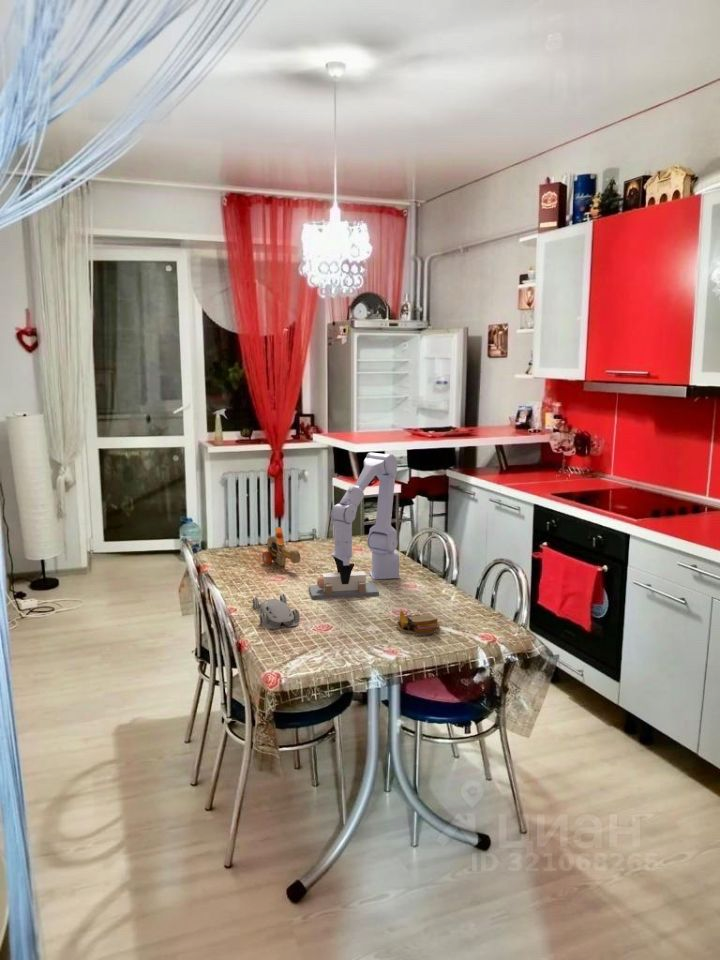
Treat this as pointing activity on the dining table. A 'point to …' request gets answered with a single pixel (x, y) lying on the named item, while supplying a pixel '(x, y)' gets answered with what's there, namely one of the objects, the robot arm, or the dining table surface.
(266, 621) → the car model
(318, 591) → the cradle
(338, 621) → the dining table surface
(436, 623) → the toy sandwich meal
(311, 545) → the dining table surface
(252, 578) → the dining table surface
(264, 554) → the toy helicopter
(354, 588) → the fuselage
